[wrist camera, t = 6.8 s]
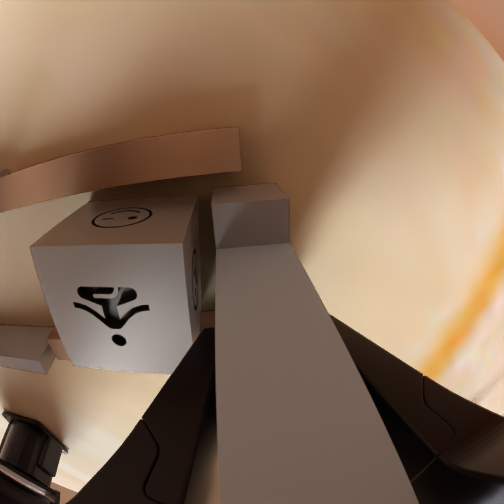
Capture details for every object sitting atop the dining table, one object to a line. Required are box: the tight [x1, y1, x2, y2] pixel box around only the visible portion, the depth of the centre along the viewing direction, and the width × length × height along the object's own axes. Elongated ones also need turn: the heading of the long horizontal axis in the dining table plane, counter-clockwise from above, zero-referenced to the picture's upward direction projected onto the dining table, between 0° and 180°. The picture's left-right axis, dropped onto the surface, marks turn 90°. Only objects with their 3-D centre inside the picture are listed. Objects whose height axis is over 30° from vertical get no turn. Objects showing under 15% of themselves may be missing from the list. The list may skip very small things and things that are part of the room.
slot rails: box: [0, 127, 242, 360], centre depth 12 cm, size 11×10×2 cm
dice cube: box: [30, 196, 202, 374], centre depth 10 cm, size 5×5×5 cm
